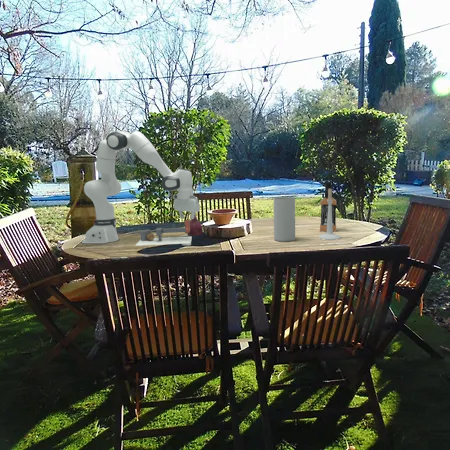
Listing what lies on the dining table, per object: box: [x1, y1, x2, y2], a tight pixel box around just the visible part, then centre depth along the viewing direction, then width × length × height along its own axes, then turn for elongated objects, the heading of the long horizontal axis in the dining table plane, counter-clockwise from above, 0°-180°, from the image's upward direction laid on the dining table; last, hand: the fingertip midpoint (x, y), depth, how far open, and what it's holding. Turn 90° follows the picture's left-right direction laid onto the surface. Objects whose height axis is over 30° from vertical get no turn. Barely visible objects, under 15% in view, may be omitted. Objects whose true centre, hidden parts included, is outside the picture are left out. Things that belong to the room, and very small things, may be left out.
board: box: [135, 229, 193, 247], centre depth 238 cm, size 32×21×7 cm, turn 93°
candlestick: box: [318, 188, 342, 241], centre depth 234 cm, size 13×13×30 cm
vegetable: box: [187, 214, 204, 236], centre depth 262 cm, size 10×10×15 cm
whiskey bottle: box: [319, 181, 337, 232], centre depth 258 cm, size 10×10×32 cm
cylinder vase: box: [273, 196, 296, 243], centre depth 234 cm, size 12×12×25 cm
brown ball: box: [147, 232, 155, 241], centre depth 240 cm, size 4×4×4 cm
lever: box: [155, 219, 191, 237], centre depth 238 cm, size 20×7×8 cm, turn 93°
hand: (187, 218), depth 239 cm, fingers open, 8 cm apart
